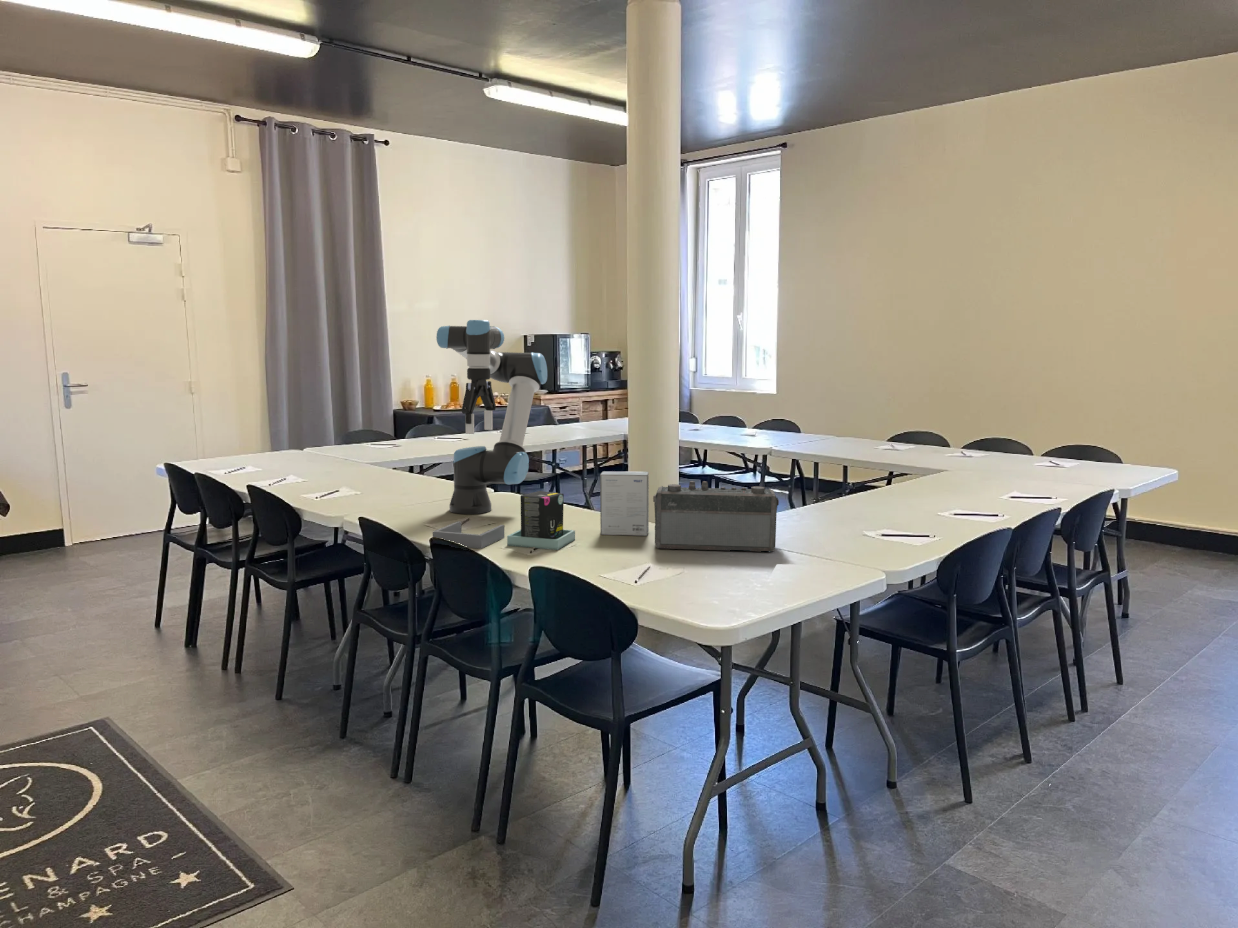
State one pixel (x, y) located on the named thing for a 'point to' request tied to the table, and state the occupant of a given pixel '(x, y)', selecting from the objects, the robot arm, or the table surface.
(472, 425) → the robot arm
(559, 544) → the tray
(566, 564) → the table surface
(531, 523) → the tampon box
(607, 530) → the hard drive box
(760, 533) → the radio
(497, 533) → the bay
